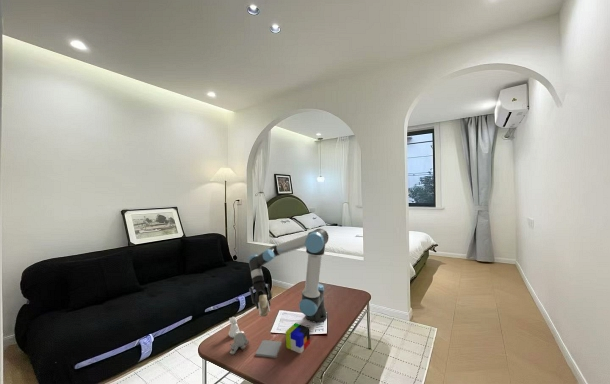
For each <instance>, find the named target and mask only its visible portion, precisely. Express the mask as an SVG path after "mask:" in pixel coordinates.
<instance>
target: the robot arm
mask: <svg viewBox="0 0 610 384" xmlns="http://www.w3.org/2000/svg"><path fill="white" fill-rule="evenodd" d="M329 238H330V237H329V233H328V232H327V230H325V229H324V228H316V229H314V230H312V231H310V232H308V233H307V234H305V235H302V236H300V237H297V238H293V239H291V240H288V241H285V242H282V243H279V244H275V245H272V246H270V247H269V248H267V249H265V250H264V251H263V252H261V253H260V254H252V255H250V256H248V265H249V270H250V276H251V281H252V286H251V287H249V289H248V290H249V292H250V296H251V301H252V302H251V303H252V304H255V308H256V309H257V310H258V312H259V313H258V314H259V315H260V314H261V309H260V304H259V292H262V295H267V312H268V313H270V312H271V308H270V306H271V300H272V298H273V296H272V291H271V289H270V287H271V285H270V284H271V283H266V282H265V277H264V274H263V270H262V267H263V266H265V265H266V264H267V263H270V262H271V261H273V260H274V258H276V257H279V256H281V255H284V254H288V253H290V252H293V251H296V250H300V249H303V248H306V249H305V252H306V254H307V263H306V272H305V284H304V285H305V286H304V289H303V290H302V291H301V299H300V301H299V304H298V309H299V310H300V312H301V313H302V314H303V315H304V316H305V318H306V320H307V321H309V322H311V323H322V322H324V321H325V320H327V319H328V312H327V309H326V305H325V286H324V285H323V284H321V283H320V275H321V266H322V265H321V264H322V263H321V262H322V256H323V255H324V254H325V252H326V251H325V249H326V245H327V243H328V241H329ZM265 288H266V289H267V291H266V289H265ZM254 290H255V294H254ZM254 295H255V296H254Z"/></svg>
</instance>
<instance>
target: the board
mask: <svg viewBox="0 0 610 384" xmlns="http://www.w3.org/2000/svg"><path fill="white" fill-rule="evenodd" d="M282 344H283V342H282V341H278V340H276V341H274V340H268V339H267V340H265V339H264V340H263V339H262V341H261V343H260V345H259V347H257V348H258V349H256V352H255V353H254V354H255V356H257V357H264V358H265V357H266V358H275V359H276V358H277V357H278V354H279V352H280V350H281V347H282Z"/></svg>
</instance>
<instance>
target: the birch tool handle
mask: <svg viewBox="0 0 610 384" xmlns="http://www.w3.org/2000/svg"><path fill="white" fill-rule="evenodd" d="M267 295H268V294H267ZM267 295H264V294H260V295H258V302H259V304H260V309H261V314H259V316H260V317H261V318H265V317H267V316H268V313H269V312H268V308H267Z"/></svg>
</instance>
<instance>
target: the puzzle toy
mask: <svg viewBox="0 0 610 384" xmlns="http://www.w3.org/2000/svg"><path fill="white" fill-rule="evenodd" d="M310 338H311V336H310V327H309V326H307V325H303V324H301V323H297V322H295V323H294V324H292V325H291V326H290V327H289V328H288V329H287V330H286V331H285V341H286V344H285V345H286V349H289V350H291V351H294V352H296V353H298V354H302V353H303V352H304V351H305V349H306V348H307V347H308V346H309V345H310V342H311V339H310Z"/></svg>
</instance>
